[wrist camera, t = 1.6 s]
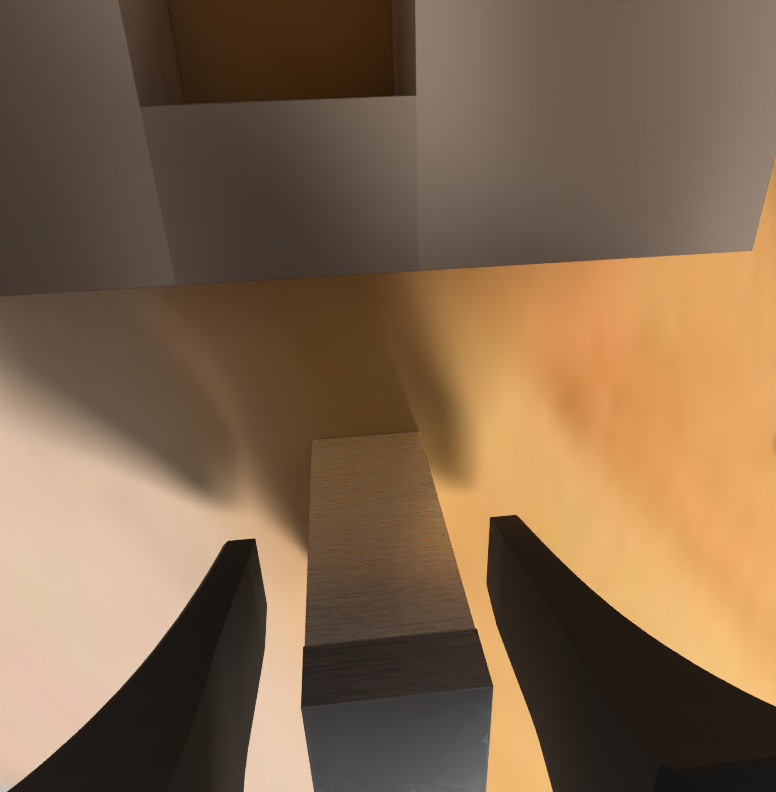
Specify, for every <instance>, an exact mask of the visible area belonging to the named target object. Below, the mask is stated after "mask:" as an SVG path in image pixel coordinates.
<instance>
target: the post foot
mask: <svg viewBox="0 0 776 792" xmlns="http://www.w3.org/2000/svg"><path fill="white" fill-rule="evenodd" d="M392 37H393V74H394V95H383V96H358V97H333V98H308V99H282V100H257V101H232V102H207V103H185V99H184V93H183V87H182V81H181V75H180V69H179V63H178V58H177V52H176V46H175V40H174V34H173V28H172V23H171V17H170V11H169V5H168V0H0V296H11V295H27V294H44V293H60V292H77V291H93V290H110V289H126V288H143V287H159V286H176V285H193V284H209V283H226V282H242V281H259V280H275V279H292V278H308V277H325V276H341V275H358V274H375V273H391V272H408V271H424V270H441V269H457V268H474V267H490V266H507V265H524V264H540V263H557V262H573V261H590V260H606V259H623V258H639V257H656V256H672V255H689V254H706V253H722V252H739V251H752V249H753V245H754V241H755V237H756V233H757V228H758V224H759V220H760V216H761V212H762V208H763V204H764V200H765V196H766V192H767V188H768V184H769V180H770V175H771V171H772V167H773V163H774V159H775V155H776V0H392Z"/></svg>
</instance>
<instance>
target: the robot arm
mask: <svg viewBox="0 0 776 792" xmlns="http://www.w3.org/2000/svg"><path fill="white" fill-rule="evenodd" d="M486 584H487V588H488V592H489V596H490V601H491V605H492V609H493V613H494V616H495V620H496V624H497V627H498V630H499V633H500V635H501V638H502V641H503V643H504V646H505V649H506V651H507V654H508V657H509V659H510V662H511V665H512V667H513V670H514V673H515V675H516V678H517V680H518V683H519V686H520V688H521V691H522V694H523V696H524V699H525V701H526V704H527V707H528V709H529V712H530V715H531V717H532V720H533V723H534V726H535V729H536V732H537V735H538V738H539V742H540V746H541V749H542V753H543V756H544V760H545V764H546V767H547V771H548V775H549V778H550V782H551V786H552V789H553V792H776V707H775V706H773V705H771V704H769V703H767V702H765V701H763V700H760V699H758V698H756V697H754V696H752V695H750V694H748V693H746V692H744V691H742V690H740V689H739V688H737V687H735V686H733V685H731V684H729V683H727V682H726V681H724V680H722V679H720V678H718V677H716V676H714V675H713V674H711V673H709V672H708V671H706V670H704V669H702V668H701V667H699V666H697V665H695V664H694V663H692V662H691V661H689V660H687V659H686V658H684V657H683V656H681V655H679V654H678V653H676V652H675V651H673V650H672V649H670V648H668V647H667V646H665V645H664V644H662V643H661V642H659V641H658V640H656V639H655V638H653V637H652V636H650V635H649V634H647V633H646V632H645V631H643V630H642V629H641V628H639V627H638V626H637V625H635V624H634V623H632V622H631V621H630V620H628V619H627V618H626V617H624V616H623V615H622V614H620V613H619V612H618V611H617V610H615V609H614V608H613V607H612V606H610V605H609V604H608V603H607V602H606V601H605V600H603V599H602V598H601V597H600V596H599V595H597V594H596V593H595V592H594V591H593V590H592V589H591V588H589V587H588V586H587V585H586V584H585V583H584V582H583V581H582V580H581V579H580V578H578V577H577V576H576V575H575V574H574V573H573V572H572V571H571V570H570V569H569V568H568V567H567V566H566V565H565V564H564V563H563V562H562V561H561V560H560V559H559V558H558V557H557V556H556V555H555V554H554V553H553V552H552V551H551V550H550V549H549V548H548V547H547V546H546V545H545V544H544V543H543V542H542V541H541V540H540V539H539V538H538V537H537V536H536V535H535V534H534V533H533V532H532V531H531V530H530V528H529V527H528V526H527V525H526V524H525V523H524V522H523V521H522V520H521V519H520V518H519V517H518V516H517V515H510V516H499V517H490V529H489V547H488V565H487V583H486ZM266 616H267V603H266V597H265V591H264V585H263V580H262V574H261V568H260V563H259V557H258V551H257V546H256V540H255V539H244V540H233V541H227V542H226V543H225V544H224V545H223V547H222V549H221V551H220V553H219V554H218V556H217V558H216V560H215V561H214V563H213V565H212V566H211V568H210V570H209V571H208V573H207V575H206V576H205V578H204V579H203V581H202V583H201V584H200V586H199V587H198V589H197V590H196V592H195V593H194V595H193V596H192V598H191V599H190V601H189V602H188V604H187V605H186V607H185V608H184V610H183V611H182V613H181V614H180V615H179V617H178V618H177V620H176V621H175V622H174V624H173V625H172V626H171V628H170V629H169V630H168V632H167V633H166V634H165V636H164V637H163V638H162V640H161V641H160V642H159V644H158V645H157V646H156V647H155V649H154V650H153V651H152V652H151V654H150V655H149V656H148V657H147V659H146V660H145V661H144V662H143V663H142V665H141V666H140V667H139V668H138V669H137V670H136V672H135V673H134V674H133V675H132V676H131V677H130V678H129V679H128V681H127V682H126V683H125V684H124V685H123V686H122V687H121V688H120V690H119V691H118V692H117V693H116V694H115V695H114V696H113V697H112V698H111V699H110V700H109V701H108V702H107V703H106V704H105V705H104V706H103V707H102V708H101V709H100V710H99V711H98V712H97V713H96V714H95V715H94V716H93V717H92V718H91V719H90V720H89V721H88V722H87V723H86V724H85V725H84V726H83V727H82V728H81V729H80V730H79V731H78V732H77V733H76V734H75V735H74V736H72V737H71V738H70V739H69V740H68V741H67V742H66V743H65V744H63V745H62V746H61V747H60V748H59V749H58V750H57V751H56V752H55V753H53V754H52V755H51V756H50V757H49V758H48V759H47V760H46V761H44V762H43V763H42V764H41V765H40V766H39V767H37V768H36V769H35V770H34V771H33V772H31V773H30V774H29V775H28V776H27V777H25V778H24V779H23V780H22V781H20V782H19V783H18V784H16V785H15V786H14V787H13V788H11V789H10V790H9V791H7V792H243V791H244V778H245V768H246V760H247V752H248V746H249V740H250V734H251V728H252V722H253V716H254V710H255V704H256V699H257V693H258V687H259V681H260V675H261V669H262V663H263V656H264V650H265V635H266Z"/></svg>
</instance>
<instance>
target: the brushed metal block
mask: <svg viewBox="0 0 776 792" xmlns="http://www.w3.org/2000/svg"><path fill="white" fill-rule="evenodd" d="M492 697H493V684H492V680H491V677H490V673H489V670H488V666H487V663H486V659H485V656H484V652H483V649H482V645H481V642H480V638H479V635H478V631H477V629H475V627H474V623H473V619H472V616H471V612H470V609H469V605H468V602H467V598H466V595H465V591H464V588H463V584H462V581H461V577H460V573H459V570H458V566H457V563H456V559H455V556H454V552H453V549H452V545H451V542H450V538H449V535H448V531H447V528H446V524H445V520H444V517H443V513H442V510H441V506H440V503H439V499H438V496H437V492H436V489H435V485H434V482H433V478H432V474H431V471H430V467H429V464H428V460H427V457H426V453H425V450H424V446H423V443H422V439H421V436H420V432H407V433H394V434H382V435H369V436H356V437H344V438H331V439H319V440H312V448H311V478H310V507H309V537H308V566H307V596H306V625H305V646H303V668H302V695H301V711H302V717H303V723H304V730H305V736H306V743H307V749H308V755H309V762H310V768H311V775H312V781H313V787H314V792H486V783H487V769H488V755H489V740H490V726H491V711H492Z"/></svg>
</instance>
